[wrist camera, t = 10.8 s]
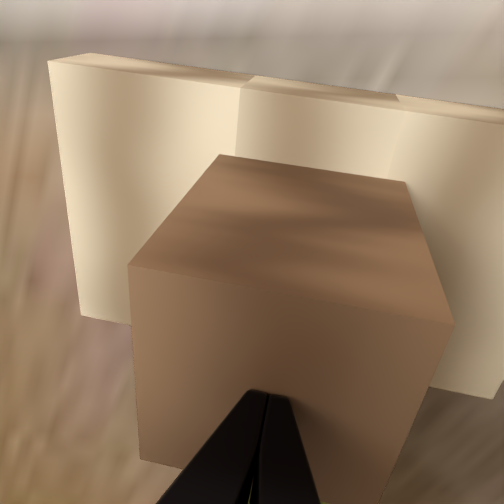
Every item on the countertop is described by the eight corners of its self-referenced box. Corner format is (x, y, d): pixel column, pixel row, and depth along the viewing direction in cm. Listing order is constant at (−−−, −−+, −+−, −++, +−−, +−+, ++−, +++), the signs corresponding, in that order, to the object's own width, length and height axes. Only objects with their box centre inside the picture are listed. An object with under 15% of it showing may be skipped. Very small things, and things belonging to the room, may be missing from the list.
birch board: (588, 120, 13) (636, 143, 11) (474, 352, 18) (492, 399, 16) (90, 53, 15) (47, 60, 13) (109, 281, 20) (81, 315, 17)
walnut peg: (395, 155, 15) (455, 325, 7) (360, 288, 17) (373, 513, 10) (236, 132, 15) (126, 265, 7) (227, 264, 18) (140, 459, 10)
